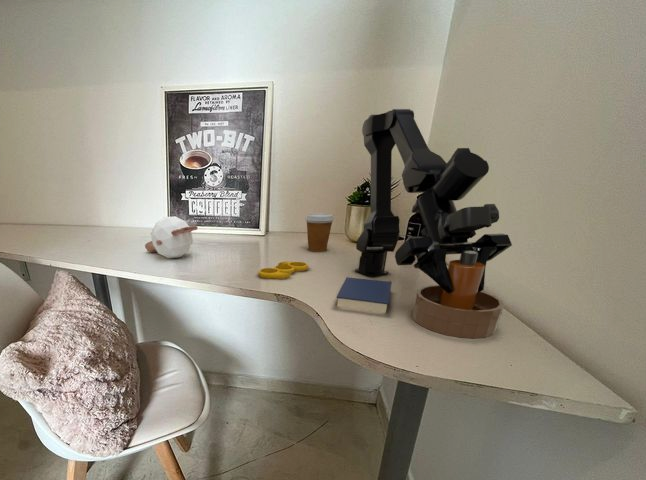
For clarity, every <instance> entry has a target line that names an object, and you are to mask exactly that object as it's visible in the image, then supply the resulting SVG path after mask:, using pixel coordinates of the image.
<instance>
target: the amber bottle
mask: <svg viewBox="0 0 646 480" xmlns="http://www.w3.org/2000/svg"><path fill="white" fill-rule="evenodd" d="M477 256H478V252H475V251H462V252H461V254H460V257H459V259H453V260H449V262H448V265H447V268H448V271H449V274H450V278H451V281H452V285H453V292H452V293H447V292H446V291H445V290H444V289H443V291H442V295H441V300H440V305H444V306H448V307H452V308H459V309H465V310H473V307H474V303H475V300H476V296H477V293H478V289H479V286H480V282H481V279H482V275H483V272H484V268H485V265H484V264H482V263H479V262H476V260H477ZM485 269H486V268H485Z"/></svg>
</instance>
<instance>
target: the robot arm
mask: <svg viewBox="0 0 646 480" xmlns="http://www.w3.org/2000/svg"><path fill="white" fill-rule="evenodd" d="M361 133H362V136H363V145H364V147H365V149H366V151H367V152H368V154H369V155H370V212H369V215H368V217H367V219H366V220H365V222H364V224H363V231H362V232H361V233H360V235H359V237H358V238H357V240H356V242H355V248H356V250H357V251H358V252H361V253H360V257H359V263H358V268H355V269H354V271H355V272H356V273H360V274H362V275H365V276H368V277H371V278H373V277H378V276H384V275H388V274H389V273H390V271H388V270H386V263H387V256H388V253H389V252H391V253H393V252H395V254H394V259H395V262H396V265H397V266H411V265H413V268H414V269H419V270H420V271H421V272H423V273H424V274H425V275H426V276H428V277H429V278H430V279H431V280H432V281H434V282H435V283H436V285H439V286H440V287H441V288H443V289H444V290H445V291H446V292H447V293H452V292H453V285H452V281H451V278H450V274H449V271H448V265H447V262H446V259H447V255H461V252H462V251H475V252H478V256H477V260H476V262H479V263H482V264H484V265H485V268H484V272H483V275H482V279H481V282H480V286H479V289H478V292H480V291H484V289H485V279H486V278H485V277H486V267H487V262H490V261H492V260H493V259H494V258H496V257H497V256H499V255H501V254H502V253H503V252H505V251H506V250H508V249H509V248H510V247H512V246H513V244H512V241H511V239H510V236H509V235H508V234H505V233H484V234H483V235H482V236H481V237H479V238H478V239H477V240H475V242H474V241H473V242H471V241H469V239H473V238H474V237H475V236H477V233H476V231H478V230H482V229H484V228H490V227H492V224H495V223H497V222H498V221H499V219H500V211H499V209H498V207H497V205H496V204H495V203H485V204H484V205H483V206H481V205H480V206H466V207H463V208H461V209H457V207H456V205H455V204H456V203H455V201H460V200H463V199H464V198H465V197H466V196H467V195H468V194H469V193H470V192H471V190H472V189H474V187H476V185H478V183H479V182H481V180H482V179H483V178H484V177H485V176H487V174H488V173H489V170H490V166H489V163H488V161H487V160H485V159H484V158H482V157H481V156H480V155H479V154H476V153H474V152H471V148H469V147H457V148H456V150H454V152H453V153H452V156H450V159H449V160H448V161H447V162H446V161H445V159H444V158H443V157H442V156H441V155H439V154H438V153H436V152H433V151H431V149H430V148H429V147H428V144H427V143H426V141H425V138H424V136H423V135H422V132H421V129H420V128H419V126H418V124H417V122H416V120H415V112H414V110H412V109H410V108H392V109H391V110H388V111H386V112H384V113H379V114H377V113H376V114H370V115H369V116H368V118H366V119H365V120H364V122H363V124H362V128H361ZM395 146H396V148H397V150H398V153H399V155H400V158H401V160H402V162H403V167H404V168H403V169H402V173H401V178H402V183H403V184H402V185H403V186H404V189H405V191H406V192H407V193H410V194H418V193H419V194H420V193H421V195H420V196H419V197H418V198H417V199H416V200H415V203H414V205H412V209H411V213H413V214H417V213H418V214H419V213H420V217H421V220H422V223H423V226H424V227H423V228H422V229H421V230H420V232H421V235H422V236H408V237H407V239H406V240H404V242H403V243H402V244H401V245H400V246H399V247H398V249H396V247H397V244H398V240H399V239H400V234H401V233H400V232H401V231H400V217H399V215H395V214H394V212H393V211H392V160H393V159H392V157H393V156H392V155H393V149H394V147H395ZM395 249H396V251H395ZM414 263H415V264H414Z"/></svg>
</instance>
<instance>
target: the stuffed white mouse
mask: <svg viewBox="0 0 646 480" xmlns="http://www.w3.org/2000/svg"><path fill="white" fill-rule="evenodd" d="M197 230H198V226H197V225H190V226H189V223H188V222H187V221H186V220H183V219H182V218H179V217H178V216H163V217H162V218H160V219H159V220H158V221H157V222H156V223H155V224H154V226H153V228H152V229H151V232H150V236H151V241H148V242H146V243H145V244H144V248H145V249H146V251H147V252H150V253H156V252H157V253H158V254H159V255H161V256H163V257H165V258H166V259H178V258H182V257H183V256H184V255H185V254H186V253H188V252H189V250H190V249H191V247H192V245H193V243H194V240H193V234H192V232H193V231H197Z"/></svg>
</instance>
